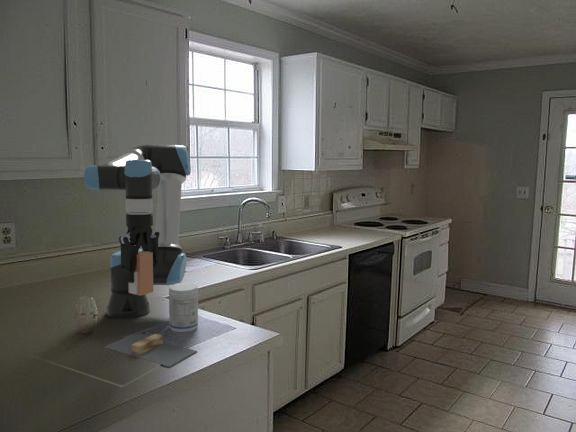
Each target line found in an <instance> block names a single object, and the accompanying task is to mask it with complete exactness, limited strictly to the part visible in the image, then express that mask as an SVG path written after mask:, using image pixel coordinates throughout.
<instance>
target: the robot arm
mask: <svg viewBox="0 0 576 432" xmlns="http://www.w3.org/2000/svg"><path fill="white" fill-rule="evenodd" d="M189 154H190V153H189V150H188V148H187V147H186V146H185V145H180V144H142V145H137V146H134V147H132V148H129V149H127V150H125V151H122V153H121V154H119V155H120V156H119V157H117V158H115V159H113V160H111V161H108V162H106V163H104V164H102V165H101V164H100V165H99V164H98V165H97V164H94V165H87V166H86V167H85V168H84V172H83V181H84V185H85V188H86V189H88V190H91V191H92V190H93V191H94V190H95V191H96V190H97V191H124V192H125V193H124V194H125V212H126V214H125V226H126V227H127V231H126V234H125V235H123V236H119V237H118V240H119V245H120V250H119V251H115V252H114V253H112V254H111V255H110V257H109V263H110V264H109V272H110V273H109V276H110V296H109V300H108V304H107V306H106V316H107V317H108V318H112V319H121V320H123V319H134V318H138V317H143V316H145V315H147V314H148V313H150V310H151V309H150V305H151V304H150V302H149V301H148V297H147V294H145V295H141V296H140V295H135V294H138V280H137V271H135V268H136V262H137V254H138V251H140V250H141V251H148V252H153V286H169V287H170V286H171V285H173V284H177V283H183V282H182V281H183V280H184V277H185V274H186V268H187V255H186V253H184V252H183V248H182V246H180V244H179V242H180V241H179V239H180V225H181V224H180V223H181V222H180V219H181V205H182V204H181V203H182V202H181V201H182V186H183V185H182V184H183V183H185V182H186V181H187V176H190V175H191V171H192V170H191V160H190V155H189ZM157 188H158V190H157V203H156V204H157V205H156V221H155V222H156V223H155V231H154V230H153V228H152V226H153V225H154V214H153V213H152V212H153V211H154V210H153V209H154V205H153V203H154V202H153V190H155V189H157ZM128 282H129V291H128ZM130 293H133V294H130Z"/></svg>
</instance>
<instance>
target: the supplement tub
mask: <svg viewBox="0 0 576 432" xmlns="http://www.w3.org/2000/svg"><path fill="white" fill-rule="evenodd" d="M168 305H169V306H168V309H169V310H168V311H169V312H168V313H169V328H170V331H172V332H175V333H188V332H192V331H195V330H196V329H198V327H199V289H198V285H197V284H195V283H192V282H181V283H177V284H173V285H169V287H168Z"/></svg>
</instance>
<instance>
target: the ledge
mask: <svg viewBox="0 0 576 432" xmlns="http://www.w3.org/2000/svg"><path fill="white" fill-rule="evenodd" d="M163 342H164V336H163V335H161V334H158V333H154V334H151V335H150V336H147V338H145V339H143V340H141V341H138V342H136V343H134V344H132V345H131V353H132V354H136V355H141V354H143V353H145V352H147V351H149V350H151V349H153V348H155V347H157V346H159V345H161V344H163Z"/></svg>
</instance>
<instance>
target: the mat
mask: <svg viewBox="0 0 576 432" xmlns="http://www.w3.org/2000/svg"><path fill="white" fill-rule="evenodd" d="M147 337H148V336H147ZM147 337H146V336H143V335H138V334H135V333H133V334H130V335H128V336H126V337H123V338H121V339H119V340H117V341H114V342H113V343H109V344H108V345H105V346H104V348H105V349H108V350H112V351H115V352H117V353H123V354H126V355H129V356H132V357H136V358H139V359H142V360H145V361H149V362H152V363H156V364H159V365H160V366H162V367H165V368H169V369H170V368H171V367H174V366H175V365H177V364H179V363H181V362H182V361H184V360H185V359H188V358H189V357H191V356H193V355H195V354H196V353H198V350H195V349H191V348H188V347H183V346H180V345H176V344H173V343H168V342H164V341H163V344H161V345H159V346H157V347H155V348H153V349H151V350H149V351H147V352H145V353H143V354H141V355H136V354H132V353H131V345H132V344H134V343H136V342H138V341H141V340H143V339H145V338H147Z"/></svg>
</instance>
